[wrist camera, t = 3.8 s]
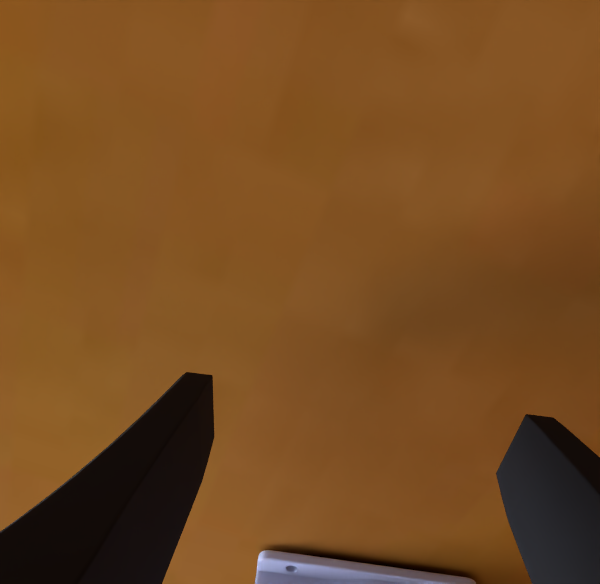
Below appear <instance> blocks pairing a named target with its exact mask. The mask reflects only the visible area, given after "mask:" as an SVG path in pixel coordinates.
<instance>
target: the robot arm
mask: <svg viewBox="0 0 600 584" xmlns="http://www.w3.org/2000/svg"><path fill="white" fill-rule="evenodd" d="M213 439H214V414H213V380H212V375H205V374H197V373H189V372H186V373H185V374H184V375H182V376H181V377H180V378H179V379H178V380H177V381H176V382H175V383H174V384H173V385H172V386H171V387H170V388H169V389H168V390H167V391H166V392H165V393H164V394H163V395H162V396H161V397H160V398H159V399H158V400H157V401H156V402H155V403H154V404H153V405H152V406H151V407H150V408H149V409H148V410H147V411H146V412H145V413H144V414H143V415H142V416H141V417H140V418H139V419H138V420H136V421H135V422H134V423H133V424H132V425H131V426H130V427H129V428H128V429H127V430H126V431H125V432H123V433H122V434H121V435H120V436H119V437H118V438H117V439H116V440H115V441H114V442H113V443H111V444H110V445H109V446H108V447H107V448H106V449H105V450H103V451H102V452H101V453H100V454H99V455H98V456H96V457H95V458H94V459H93V460H92V461H90V462H89V463H88V464H87V465H86V466H85V467H83V468H82V469H81V470H80V471H79V472H77V473H76V474H75V475H74V476H73V477H72V478H70V479H69V480H68V481H67V482H65V483H64V484H63V485H62V486H60V487H59V488H58V489H57V490H55V491H54V492H53V493H52V494H50V495H49V496H48V497H46V498H45V499H44V500H42V501H41V502H40V503H39V504H37V505H36V506H35V507H33V508H32V509H31V510H29V511H28V512H27V513H25V514H24V515H23V516H21V517H20V518H19V519H17V520H16V521H14V522H13V523H12V524H10V525H9V526H8V527H6V528H5V529H3V530H2V531H0V584H162V582H163V579H164V577H165V574H166V572H167V569H168V567H169V564H170V561H171V559H172V556H173V554H174V551H175V549H176V546H177V544H178V541H179V539H180V536H181V534H182V531H183V528H184V526H185V523H186V521H187V518H188V516H189V513H190V511H191V508H192V505H193V503H194V500H195V498H196V495H197V493H198V490H199V487H200V485H201V482H202V479H203V476H204V472H205V469H206V465H207V462H208V458H209V454H210V451H211V447H212V443H213ZM496 475H497V479H498V483H499V487H500V491H501V496H502V500H503V503H504V507H505V511H506V514H507V518H508V521H509V524H510V527H511V530H512V532H513V535H514V538H515V540H516V543H517V545H518V548H519V551H520V553H521V556H522V559H523V561H524V564H525V566H526V569H527V571H528V574H529V577H530V579H531V582H532V584H600V458H599V457H598V456H597V455H596V454H595V453H594V452H593V451H592V450H590V449H589V448H588V447H587V446H586V445H585V444H584V443H583V442H581V441H580V440H579V439H578V438H577V437H576V436H575V435H573V434H572V433H571V432H570V431H569V430H568V429H567V428H565V427H564V426H563V425H562V424H561V423H559V422H558V421H557V420H556V419H554V418H552V417H544V416H536V415H528V414H526V415H525V417H524V419H523V421H522V423H521V425H520V427H519V429H518V431H517V433H516V435H515V437H514V439H513V441H512V443H511V445H510V447H509V449H508V451H507V453H506V455H505V457H504V459H503V461H502V463H501V465H500V467H499V469H498V471H497V473H496ZM255 584H476V582H475V581H474V580H473V579H471V578H467V577H461V576H453V575H446V574H439V573H432V572H425V571H417V570H410V569H403V568H396V567H389V566H382V565H374V564H367V563H360V562H353V561H346V560H338V559H331V558H324V557H317V556H310V555H302V554H295V553H288V552H281V551H274V550H265V551H262V552H261V553H260V554H259V557H258V564H257V574H256V580H255Z"/></svg>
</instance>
